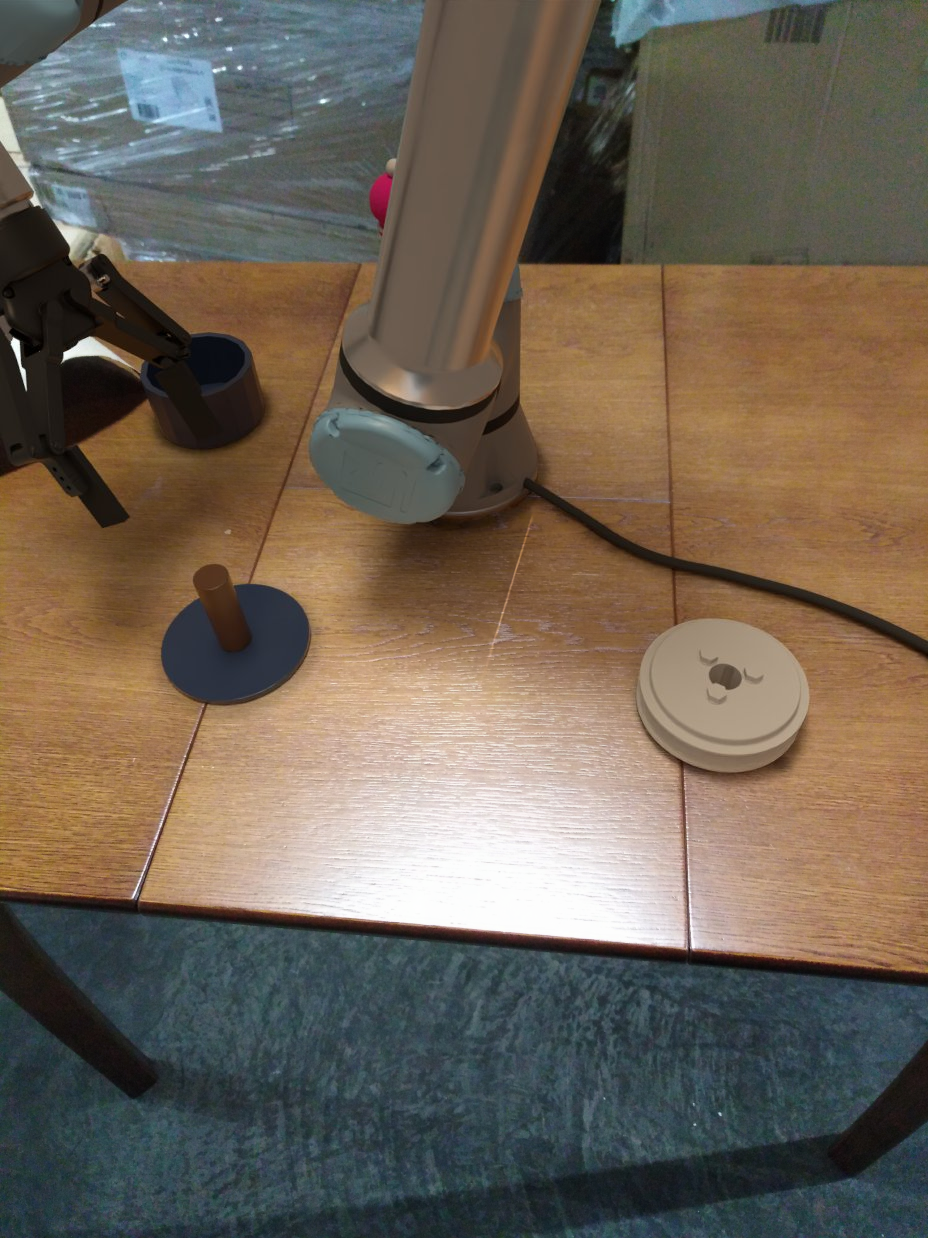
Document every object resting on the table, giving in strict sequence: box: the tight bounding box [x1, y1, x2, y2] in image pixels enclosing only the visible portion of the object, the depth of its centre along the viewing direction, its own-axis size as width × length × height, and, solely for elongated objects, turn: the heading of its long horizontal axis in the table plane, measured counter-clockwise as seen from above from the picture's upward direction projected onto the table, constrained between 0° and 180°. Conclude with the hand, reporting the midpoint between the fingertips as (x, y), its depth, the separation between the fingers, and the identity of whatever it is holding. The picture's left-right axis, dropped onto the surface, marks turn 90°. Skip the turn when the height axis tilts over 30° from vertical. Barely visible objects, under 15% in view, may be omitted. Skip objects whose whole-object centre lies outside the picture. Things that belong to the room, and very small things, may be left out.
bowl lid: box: [160, 563, 311, 706], centre depth 73 cm, size 13×13×9 cm
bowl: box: [139, 331, 266, 450], centre depth 95 cm, size 11×11×6 cm
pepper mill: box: [368, 157, 397, 241], centre depth 98 cm, size 7×7×20 cm
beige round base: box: [635, 617, 810, 773], centre depth 69 cm, size 13×13×5 cm
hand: (166, 477), depth 74 cm, fingers open, 13 cm apart
